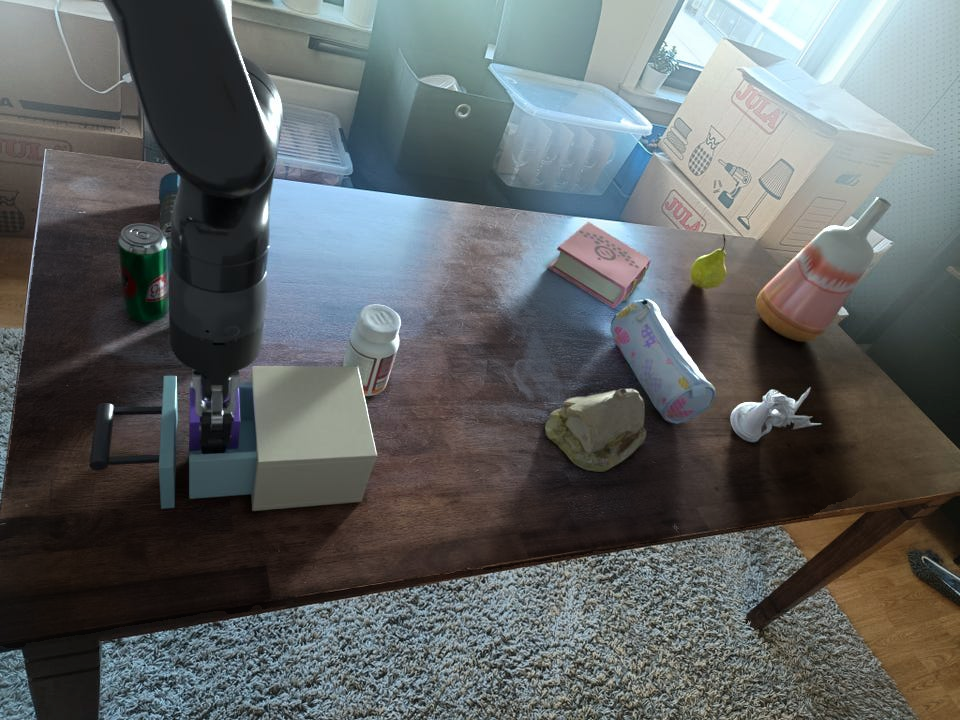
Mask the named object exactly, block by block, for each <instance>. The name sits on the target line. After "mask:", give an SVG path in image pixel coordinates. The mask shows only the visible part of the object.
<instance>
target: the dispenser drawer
mask: <svg viewBox="0 0 960 720" xmlns="http://www.w3.org/2000/svg"><path fill="white" fill-rule="evenodd" d="M162 381H163V382H162V399H161V400H162V401H161V405H158V406H157V405H155V406H154V405H153V406H152V405H151V406H114V404H112V403H109V402H102V403H100V404H98V405H97V406H96V413H95V421H94V428H93V436H92V443H91V451H90V457H89V468H90V469H91V470H94V471H103V470H106V469H107V468H108V467H109V466H120V465H122V466H123V465H137V464H138V465H140V464H157V463H158V475H159V476H158V478H159V492H160V493H159V496H160V509H161V510H164V509H174V508H175V507H176V506H175V505H176V477H177V476H176V473H177V469H176V468H177V445H178V444H177V442H178V382H177V375H164V376H163V380H162ZM192 383H193V381H192V382H190V383H189V388H190V387H193V386H192ZM239 405H240V431H239V442H238V449H226V451H225V453H218V454H202V451H189V455H188V499H189V500H191V499H192V500H193V499H204V498H205V499H207V498H218V497H219V498H220V497H230V496H233V497H234V496H245V495H246V496H247V495H251V494H253V492H254V484H255V476H256V467H257V449H256V434H255V419H254V404H253V390H252V382H250V381H239ZM140 415H141V416H143V415H145V416H146V415H161V420H160V437H159V439H160V440H159V453H157V454H142V455H141V454H139V455H118V456H117V455H115V456H110V454H111V443H112V434H113V426H114V419H115V418H114V417H115V416H140Z"/></svg>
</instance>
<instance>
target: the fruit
mask: <svg viewBox="0 0 960 720" xmlns="http://www.w3.org/2000/svg"><path fill="white" fill-rule="evenodd" d="M722 236H723V247H722V248H717V249H715V250H714V251H712V252H711V253H709V254H704V255H701V256H699V257H698V258H696V259H695V261H694V262H693V263H692V266H691V268H690V271H689V277H690V281H691V282H692V284H693V285H694V286H695V287H697V288H698V289H703V290H708V289H713V288H718V287H720V286H721V285H722V283H723V282H724V281H725V278H726V276H727V268H726V266H725V260H726V251H725V248H726V247H725V246H726V235H725V233H722Z"/></svg>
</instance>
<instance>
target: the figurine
mask: <svg viewBox="0 0 960 720" xmlns="http://www.w3.org/2000/svg"><path fill="white" fill-rule="evenodd" d="M811 389H812V387H811V386H810V387H809V388H807V390H806V391H805V392H804V393H803V394H801V395H800V397H799V398H798V400H795V399H794V398H791V397H788V396H787V395H785V394H782V392H779V390H776V389H770V390H769V391H768V392H767V393H766V394H765V395H763V396H762V402H753V401H750V402H749V401H748V402H743V403H740V404H738V405H737V406H736V407H735V408H734V409H732V412H731V414H730V417H729V419H730V425H731V428H732V430H733V431H734V432H735V434H736V435H737V436H738V437H740V438H741V439H742V440H744V441H745V442H746V441H747V442H749V443H757V442H758V441H759V440H760V438H762V437H763V436H765V435H766V434H769V433H770V432H771V431H772V429H773V427H777V428H781V427H783V428H787V425H788V426H791V423H792V424H793V427H792V428H791V430H797V429H802V428H808V427H814V426H819V425H821V423H816V422H815V423H814V422H811V420H810V419H811V418H813V415H812V416H808V415H795V413H796V412H797V410H798V409H799V407H800V406H801V405H802V403H804V401H805V399H806V398H807V397H808V396H809V394H810V392H811ZM764 425H765V426H766V429H765V430H764V431H762V428H763V426H764Z"/></svg>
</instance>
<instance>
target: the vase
mask: <svg viewBox="0 0 960 720" xmlns="http://www.w3.org/2000/svg"><path fill="white" fill-rule="evenodd" d="M891 206H892V204H891V203H890V201H888V200H887V199H885V198H883V197H881V196H878V197H876V198H875V200H874V201H873V202H872V203H871V204H870V205H869V206H868V208H866V210H865V211H864V212H863V214H862V215H861V216H860V217H859V218H858V220H857V221H856V222H855V223H854V224H853V225H852V226H849V227H847V226H841V225H830V226H828V227H826V228H824V229H822V231H820V232H819V233H818V234H817V235H816V236H815V237H814V238H813V239H812V240H810V242H809V243H807V244H806V245H805V247H803V249H801V251H799V252H798V254H796V256H794V257H793V258H792V259H791V260H790V261H789V262H788V263H787V264H786V265H785V266H784V267H783V268H782V269H781V270H780V271H779V272H777V274H776V275H775V276H774V277H773V278H772V279H771V280H769V282H768V283H767V284H765V286H764V287H763V288H762V289H761V290H760V291H759V293H758V295H757V297H756V299H755V309H756V311H757V314H758V316H759V318H760V319H761V320H762V322H764V323H765V324H766V326H768V327H769V328H770V329H771V330H772V331H774V332H775V333H776V334H778V335H780V336H781V337H784V338H786V339H788V340H791V341H795V342H802V343H806V342H807V343H808V342H813V341H815V340H817V339H819V338H820V337H822V335H823V334H824V333H825V332H826V331H827V330H828V328H829V327H830V326H831V324H832V323H833V321H834V320H835V318H836V317H837V315H838V314H839V312H840V311H841V309H842V308H843V306H844V305H845V303H846V301H847V300H848V298H849V297H850V295H851V294H852V293H853V291H854V289H855V288H856V287H857V285H858V284H859V281H860V280H861V279H862V278H863V276H864V275H865V272H866V271H867V270H868V268H869V266H870V265H871V264H872V262H873V260H874V256H875V251H874V248H873V246H872V244H871V243H870V241H869V240H868V238H867V237H868V236H869V233H870V232H871V231H872V230H873V228H875V226H876V225H877V223H878V222H879V221H880V220H881V218H882V217H883V216H884V215H885V214H886V212H887V211H888V210H889V209H890V207H891Z"/></svg>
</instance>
